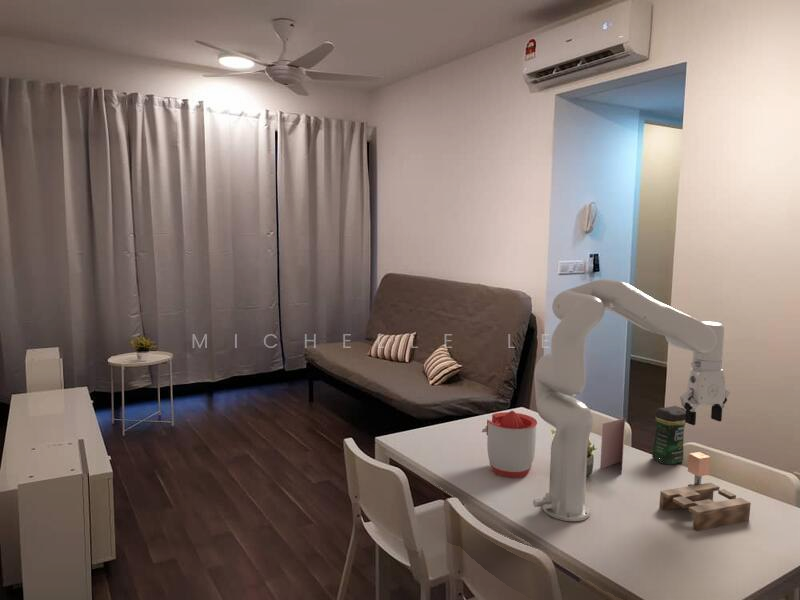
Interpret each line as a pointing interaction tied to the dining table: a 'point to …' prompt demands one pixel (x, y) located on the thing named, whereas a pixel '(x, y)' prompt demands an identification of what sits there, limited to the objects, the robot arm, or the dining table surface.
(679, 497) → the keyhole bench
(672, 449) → the coffee jar
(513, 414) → the citrus juicer
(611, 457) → the greeting card
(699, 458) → the keyhole peg
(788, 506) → the dining table surface
